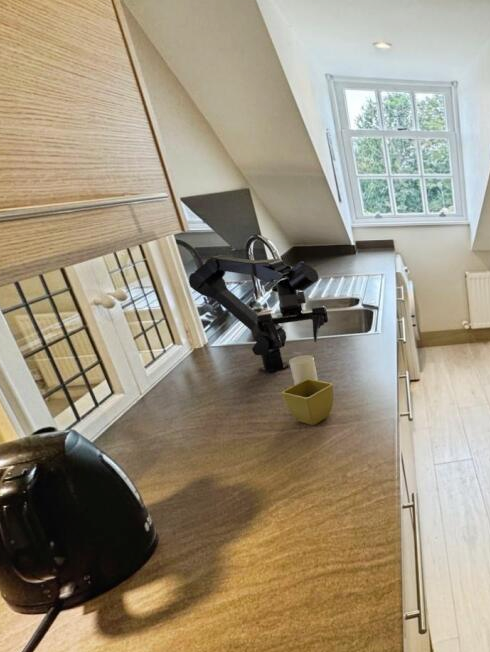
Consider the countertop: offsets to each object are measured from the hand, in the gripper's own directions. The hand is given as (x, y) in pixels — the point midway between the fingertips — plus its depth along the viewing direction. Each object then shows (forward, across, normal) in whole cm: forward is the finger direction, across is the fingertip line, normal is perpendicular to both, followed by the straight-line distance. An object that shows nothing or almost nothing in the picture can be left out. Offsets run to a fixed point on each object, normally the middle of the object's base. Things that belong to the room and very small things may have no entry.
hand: (298, 344), depth 129 cm
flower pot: (+26, +1, -7) cm, 26 cm away
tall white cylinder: (+18, 0, 0) cm, 18 cm away
